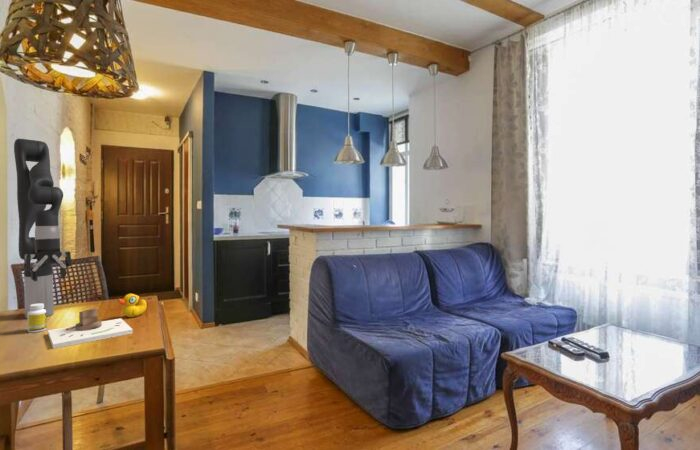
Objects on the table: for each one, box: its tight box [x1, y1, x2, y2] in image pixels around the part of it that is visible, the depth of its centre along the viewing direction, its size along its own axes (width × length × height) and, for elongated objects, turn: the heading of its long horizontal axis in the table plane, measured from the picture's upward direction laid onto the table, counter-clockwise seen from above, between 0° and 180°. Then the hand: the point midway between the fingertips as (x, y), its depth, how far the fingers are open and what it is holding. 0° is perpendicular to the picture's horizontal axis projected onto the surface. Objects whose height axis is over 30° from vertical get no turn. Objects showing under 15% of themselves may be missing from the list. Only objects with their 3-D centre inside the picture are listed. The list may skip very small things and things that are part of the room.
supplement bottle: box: [27, 303, 47, 333], centre depth 138 cm, size 5×5×10 cm
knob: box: [65, 307, 103, 330], centre depth 136 cm, size 12×8×6 cm, turn 163°
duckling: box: [117, 293, 147, 318], centre depth 157 cm, size 11×5×10 cm, turn 149°
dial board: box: [47, 317, 134, 350], centre depth 135 cm, size 18×23×2 cm
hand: (49, 279), depth 144 cm, fingers open, 8 cm apart
